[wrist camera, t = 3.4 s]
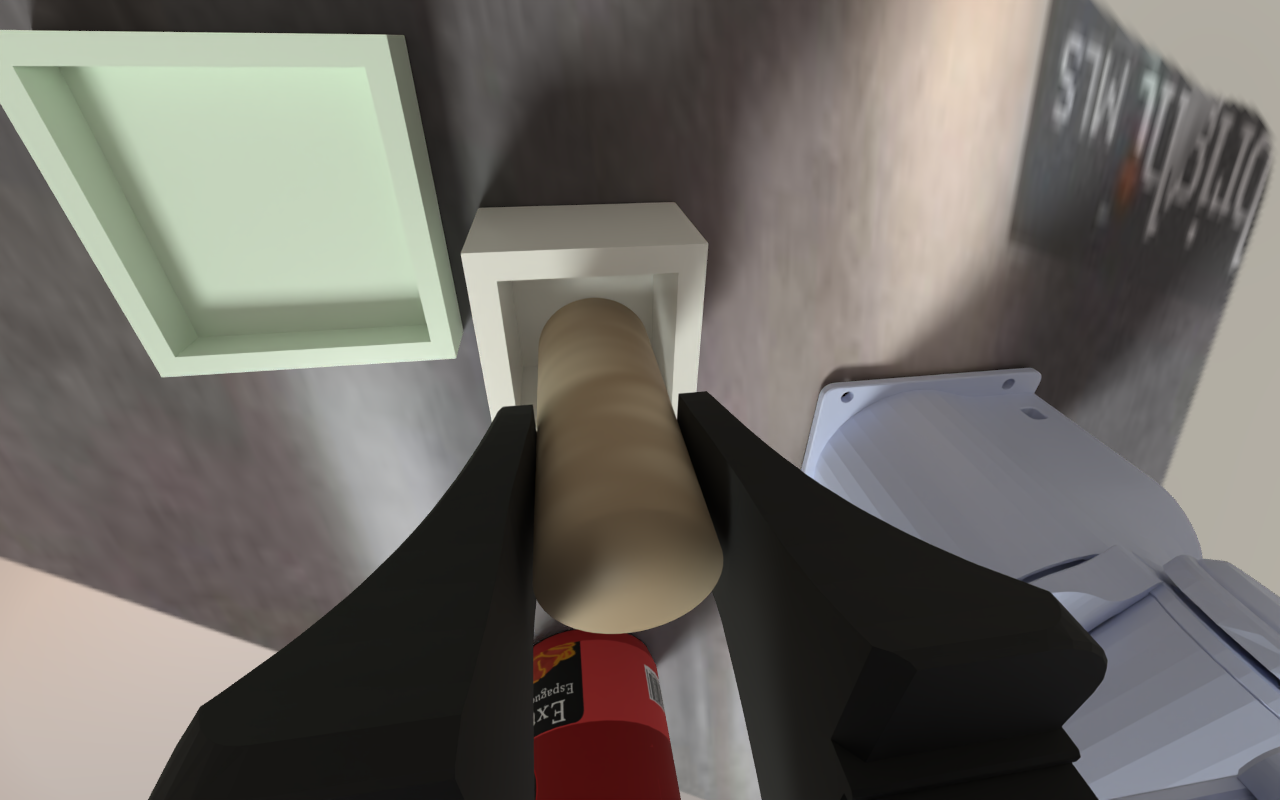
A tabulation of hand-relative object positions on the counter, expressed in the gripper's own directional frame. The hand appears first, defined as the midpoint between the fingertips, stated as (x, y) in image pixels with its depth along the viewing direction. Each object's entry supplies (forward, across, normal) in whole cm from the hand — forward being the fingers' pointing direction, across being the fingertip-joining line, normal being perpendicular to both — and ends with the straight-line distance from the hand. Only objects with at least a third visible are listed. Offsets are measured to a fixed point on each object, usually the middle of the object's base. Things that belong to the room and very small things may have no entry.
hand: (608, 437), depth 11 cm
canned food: (+8, +1, +22) cm, 23 cm away
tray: (+7, +8, -3) cm, 11 cm away
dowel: (+4, 0, 0) cm, 4 cm away
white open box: (+8, 0, 0) cm, 8 cm away
